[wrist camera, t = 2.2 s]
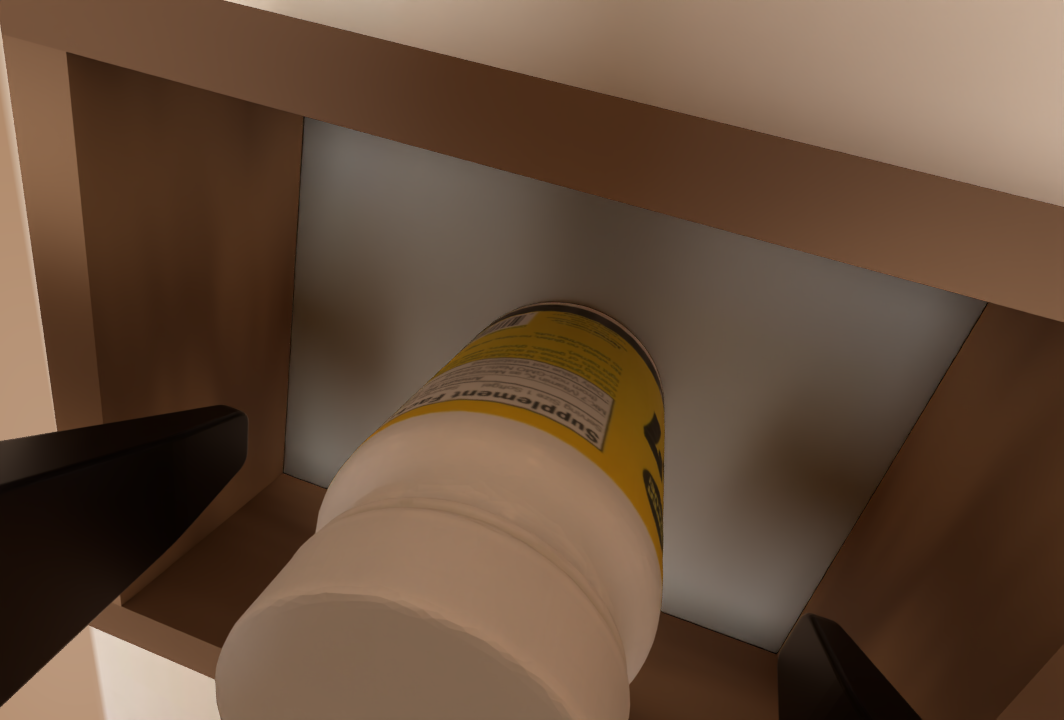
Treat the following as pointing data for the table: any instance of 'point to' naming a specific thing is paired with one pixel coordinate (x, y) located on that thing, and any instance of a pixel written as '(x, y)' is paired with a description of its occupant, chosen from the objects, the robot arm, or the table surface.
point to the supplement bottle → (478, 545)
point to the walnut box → (566, 160)
